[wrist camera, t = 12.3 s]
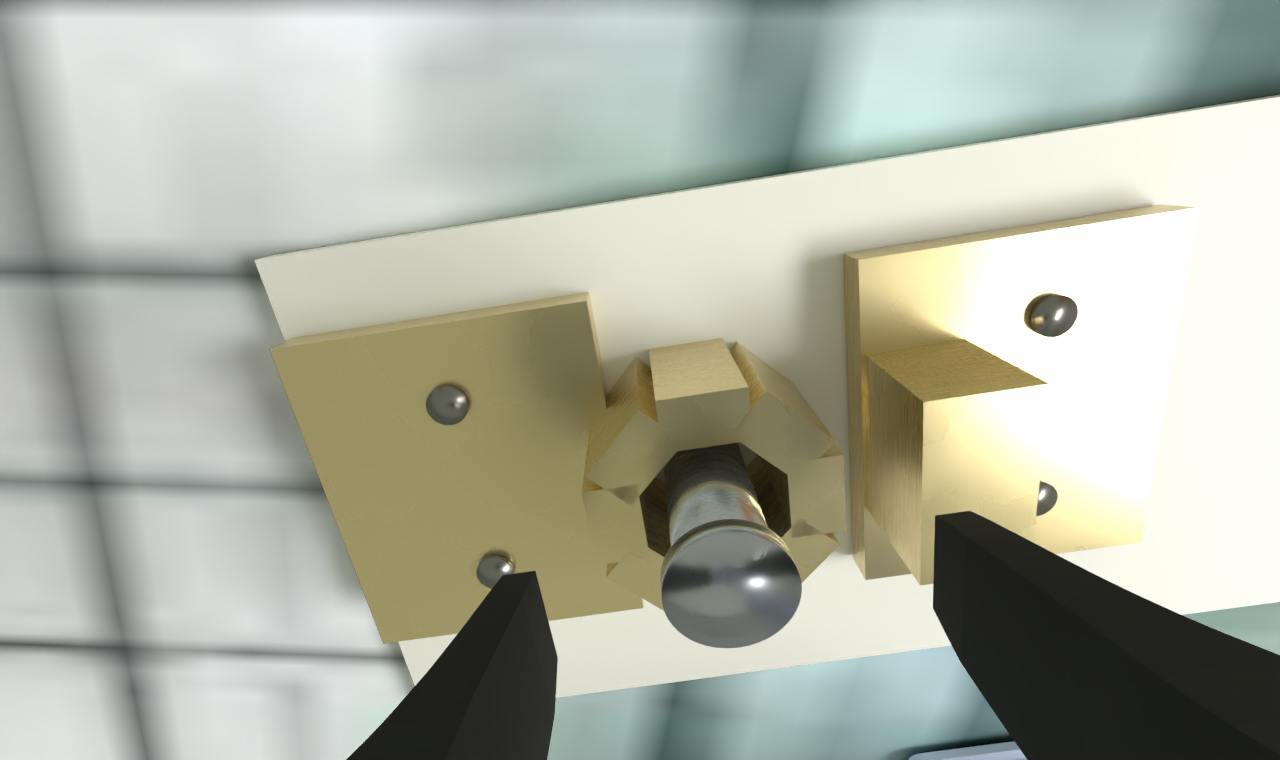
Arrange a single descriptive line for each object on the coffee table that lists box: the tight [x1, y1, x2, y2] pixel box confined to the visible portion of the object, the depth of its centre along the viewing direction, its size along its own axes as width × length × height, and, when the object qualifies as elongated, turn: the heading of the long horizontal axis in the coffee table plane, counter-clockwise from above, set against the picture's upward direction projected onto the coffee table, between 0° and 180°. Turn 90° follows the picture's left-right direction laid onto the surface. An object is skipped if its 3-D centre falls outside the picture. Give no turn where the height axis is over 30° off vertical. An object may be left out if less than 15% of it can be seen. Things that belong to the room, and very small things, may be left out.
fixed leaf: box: [270, 292, 846, 644], centre depth 15 cm, size 9×13×4 cm
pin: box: [660, 443, 802, 648], centre depth 13 cm, size 2×2×6 cm
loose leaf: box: [843, 204, 1199, 586], centre depth 14 cm, size 9×8×4 cm
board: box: [254, 95, 1280, 698], centre depth 17 cm, size 15×28×1 cm, turn 99°
